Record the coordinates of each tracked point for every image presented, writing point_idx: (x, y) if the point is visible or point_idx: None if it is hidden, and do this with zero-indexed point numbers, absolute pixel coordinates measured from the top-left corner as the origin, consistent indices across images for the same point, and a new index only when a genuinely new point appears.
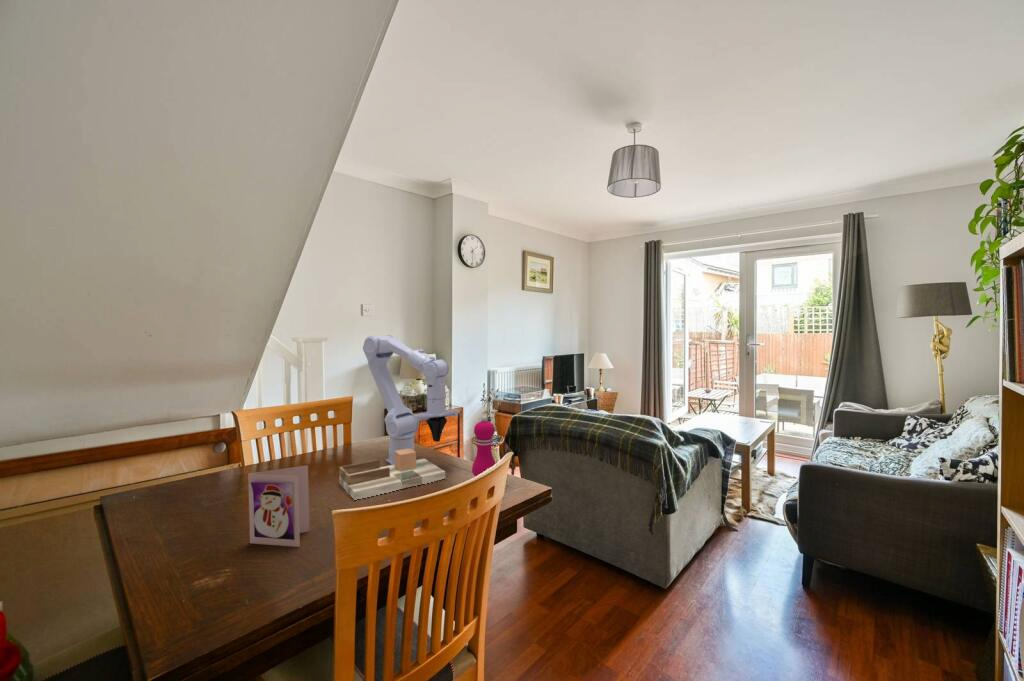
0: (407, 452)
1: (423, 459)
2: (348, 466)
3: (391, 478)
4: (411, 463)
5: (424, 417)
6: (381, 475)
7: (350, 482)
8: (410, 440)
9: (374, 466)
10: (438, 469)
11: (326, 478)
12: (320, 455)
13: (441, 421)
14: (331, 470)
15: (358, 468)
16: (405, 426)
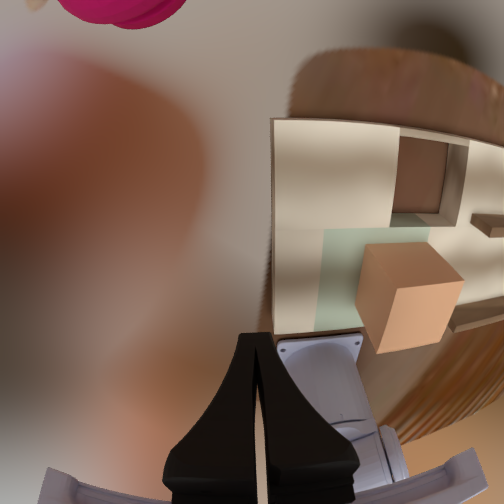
0: (426, 300)
1: (283, 326)
2: None
3: (477, 191)
4: (396, 256)
5: (396, 501)
6: (497, 218)
7: None
8: (323, 417)
9: (459, 311)
10: (291, 167)
11: (489, 328)
12: (408, 432)
13: (243, 465)
14: (456, 367)
15: (494, 306)
16: (359, 470)
